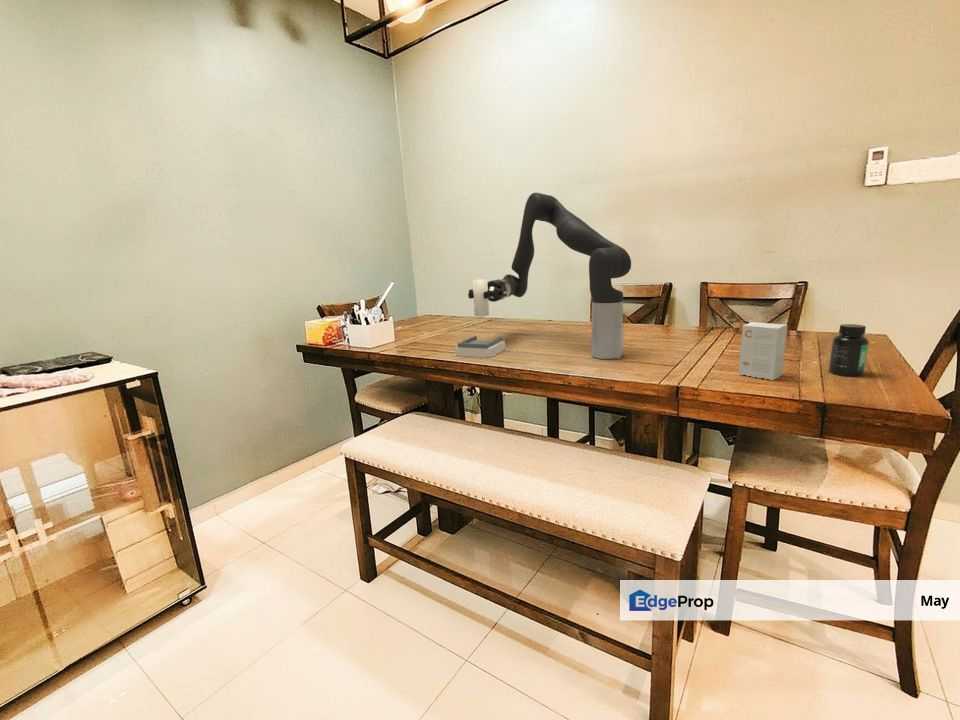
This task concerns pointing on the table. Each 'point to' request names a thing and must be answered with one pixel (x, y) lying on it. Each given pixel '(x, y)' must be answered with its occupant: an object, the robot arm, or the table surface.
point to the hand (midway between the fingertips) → (477, 295)
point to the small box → (762, 350)
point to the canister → (480, 297)
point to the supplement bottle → (849, 351)
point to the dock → (480, 347)
